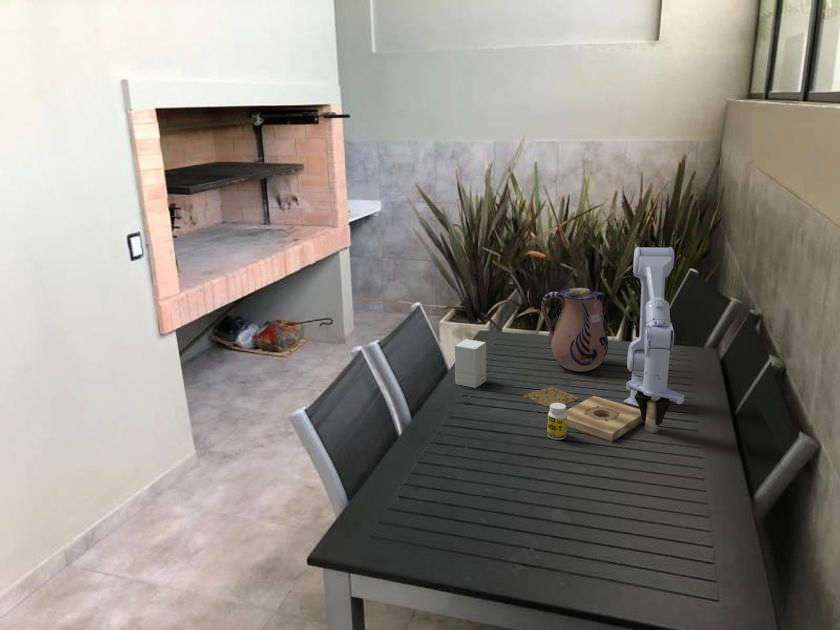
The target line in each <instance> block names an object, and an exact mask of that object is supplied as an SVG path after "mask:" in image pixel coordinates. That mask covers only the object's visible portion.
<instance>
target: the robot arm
mask: <svg viewBox="0 0 840 630" xmlns="http://www.w3.org/2000/svg"><path fill="white" fill-rule="evenodd" d="M674 264H675V250H674V249H673V247H671V246H669V247H643V246H642V247H641V246H636V247H635V248H634V252H633V271H632V272H633V277H635V278H638V279H639V280H640V285H641V288H640V289H641V291H640V292H641V293H640V294H641V295H640V310H639V311H640V319H639V336H638V337H637V338H636V339H634V340H633V341H632V342H630V344H629V345H628V352H627V355H626V356H627V358H626V359H627V360H626V362H627V364H626V365H627V370H628V371H629V372H630V373H631V380H628V381H626V385H625V389H626V390H628V391H630V395H629V397H628V398H626V399H624V400H623V403H625V404H628V405H631V406H634V407H638V409H640V412H641V417H642V421H644V422H645V420H646V408H647V400H649V399H655V400H657V401H655V403H656V412H657V414H656V425H658V427H659V426H661V424H663V421H664V418H665V416H666V413H667V411H668V409H669V407H670V406H671V405H672V403H673V402H674V403H676V404H677V405H681V404H682V403H684V400H685V394H682V393H679V392H677V391H676V390H675V391H674V390H673V389H670V388H668V380H669V379H668V378H669V367H670V365H669V364H670V356H671V355H670V354H671V350H673V348H674V347H673V346H674V343H675V331H674V327H673V323H672V322H671V316H670V315H671V313H670V303H669V302H668V301H667V300H666V299H665V288H666V278H668V277H669V276H670V274H671V273H672V270H673V268H674Z"/></svg>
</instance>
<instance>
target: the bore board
mask: <svg viewBox="0 0 840 630" xmlns="http://www.w3.org/2000/svg"><path fill="white" fill-rule="evenodd" d="M566 413H567V429H570V430H573V431H576V432H579V433H582V434H585V435H587V436H591V437H594V438H597V439H599V440H602V441H606V442H609V443H614V442H615V441H616V440H617V439H619V438H620V437H622V436H624V435H625V434H628V432H630V431H631V430H632V429H635V428H636V427H638V426H639V425H640V424H642V423H643V422H644V423H645V421H642V417H641V412H640V408H636V407H633V406H629V405H626V404H623V403H619V402H616V401H613V400H610V399H605V398H603V397H599V396H596V395H593V396H590V397H588V398H587V399H585V400H583V401H581V402H579V403H577V404H576V405H574V406H572V407H569V408H568V409H566Z"/></svg>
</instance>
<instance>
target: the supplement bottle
mask: <svg viewBox="0 0 840 630" xmlns="http://www.w3.org/2000/svg"><path fill="white" fill-rule="evenodd" d="M566 410H567V404H566V405H564V404H562V403H552V404H551V405H550V408H549V411H548V413H547V428H546V429H547V430H546V431H547V432H546V435H547V438H550V439H552V440H556V441H559V440H563V439H565V438H566V437H567V430H568V428H567V413H566Z"/></svg>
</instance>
